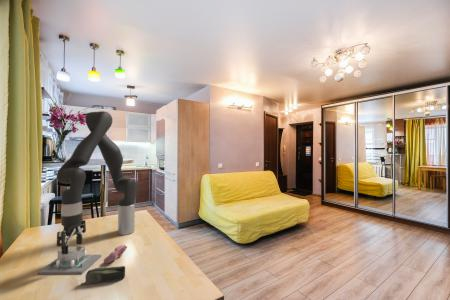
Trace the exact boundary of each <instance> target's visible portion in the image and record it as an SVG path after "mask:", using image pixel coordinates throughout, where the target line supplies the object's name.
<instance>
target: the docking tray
mask: <svg viewBox="0 0 450 300" xmlns="http://www.w3.org/2000/svg"><path fill="white" fill-rule="evenodd" d="M100 258H102V254H87V250H85V260H84V261H83V262H82V263H80V264H79V265H74V260H71V265H60V260H58V257H57V258H56V259H54V260H53V261H51V262H50V263H49V264H47V265H45V266H44V267H42V268H41V269H40V270H38V271H37V275H72V274H73V275H83V274H84V273H85V272H86V271H87V270H88V269H90V268H91V266H93V265H94V264H95V263H96V262H97V261H98V260H100Z"/></svg>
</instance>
